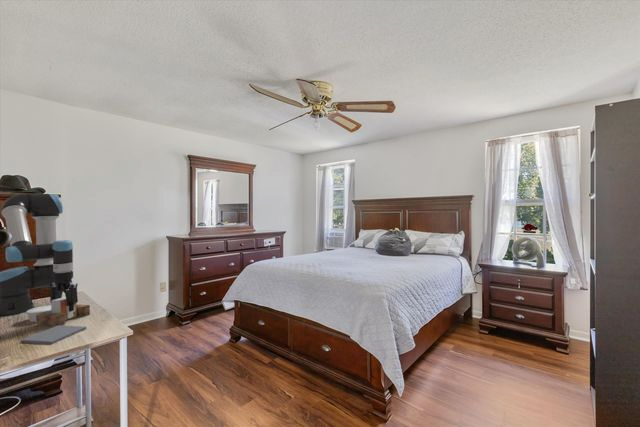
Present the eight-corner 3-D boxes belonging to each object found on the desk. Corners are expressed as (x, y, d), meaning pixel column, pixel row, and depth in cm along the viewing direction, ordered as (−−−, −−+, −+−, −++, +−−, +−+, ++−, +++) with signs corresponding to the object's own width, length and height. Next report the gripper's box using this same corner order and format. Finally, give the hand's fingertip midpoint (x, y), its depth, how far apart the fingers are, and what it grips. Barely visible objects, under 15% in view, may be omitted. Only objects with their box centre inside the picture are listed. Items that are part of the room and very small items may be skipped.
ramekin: (59, 317, 148) (59, 307, 148) (29, 325, 139) (29, 314, 139) (54, 313, 155) (53, 303, 155) (24, 320, 146) (24, 309, 146)
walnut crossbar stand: (36, 325, 138) (36, 315, 138) (70, 313, 154) (69, 304, 154) (58, 326, 136) (58, 316, 136) (89, 314, 152) (89, 305, 152)
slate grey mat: (21, 342, 121) (21, 339, 121) (58, 327, 136) (58, 325, 136) (52, 344, 119) (52, 341, 119) (86, 328, 134) (86, 326, 134)
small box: (60, 322, 141) (59, 301, 141) (51, 321, 142) (50, 300, 142) (77, 316, 149) (76, 296, 148) (68, 315, 150) (67, 295, 150)
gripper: (38, 272, 142) (40, 319, 143) (72, 273, 140) (73, 321, 140) (54, 269, 150) (56, 313, 150) (86, 270, 147) (87, 315, 148)
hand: (64, 317), depth 145 cm, fingers closed on small box, 6 cm apart
